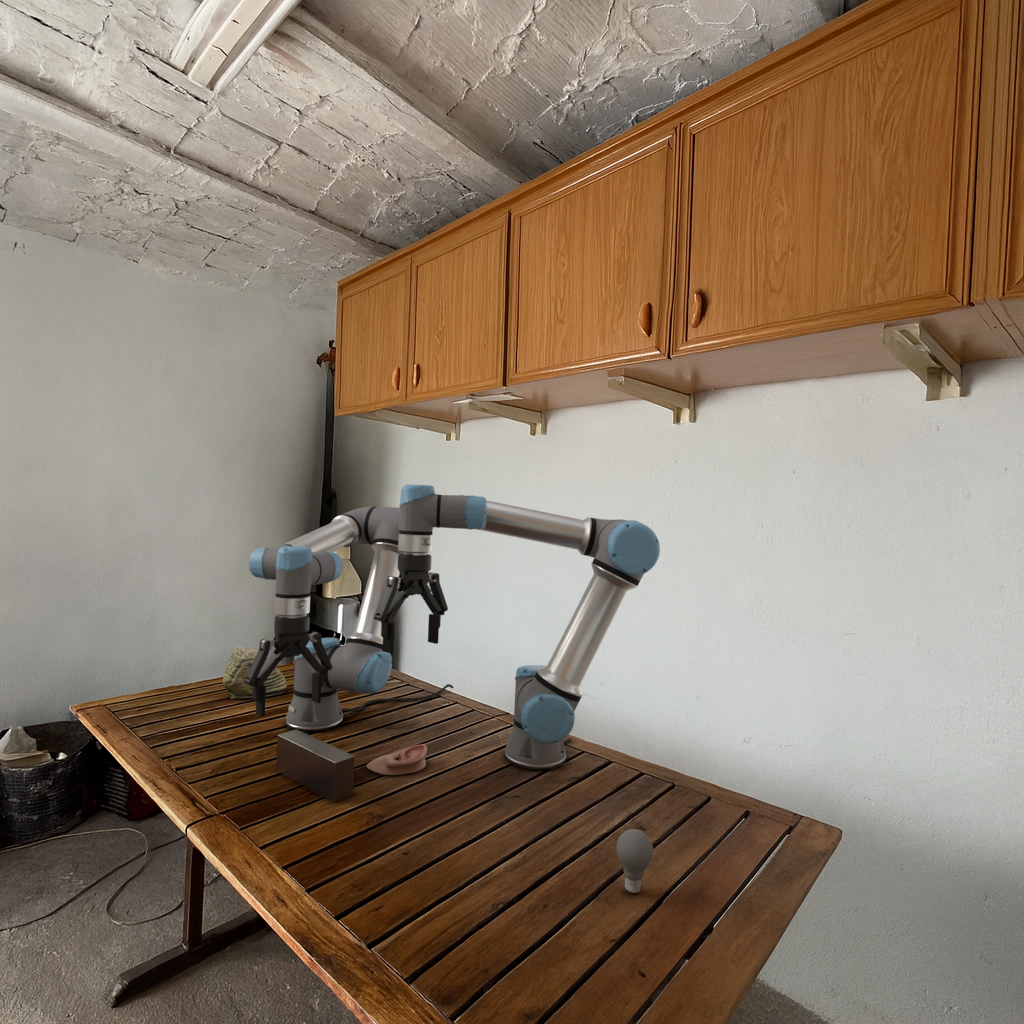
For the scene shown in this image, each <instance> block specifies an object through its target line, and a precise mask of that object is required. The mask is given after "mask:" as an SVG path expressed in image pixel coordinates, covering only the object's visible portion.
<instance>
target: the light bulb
mask: <svg viewBox="0 0 1024 1024" xmlns="http://www.w3.org/2000/svg"><path fill="white" fill-rule="evenodd" d="M615 849H616V854H617V857H618V859H619V861H620V863H621V865H622V867H623V873H624V874H623V875H624V876H625V878H624V888H625V890H627V891H628V892H630V893H634V894H635V893H639V892H640V891H641V889H642V887H641V886H642V879H643V877H644V875H645V871H646V868H647V867H648V866H649V864H650V863H651V861H652V859H653V855H654V847H653V843H652V841H651V838H649V836H648V835H647V834H646V833H645V832H643V831H642V830H641V829H636V828H629V829H627V830H625V831H623V832H622V833H621V834H620V835H619V837H618V839H617V841H616V847H615Z"/></svg>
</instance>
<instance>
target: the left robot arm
mask: <svg viewBox="0 0 1024 1024" xmlns="http://www.w3.org/2000/svg"><path fill="white" fill-rule="evenodd" d="M399 512H400V507H395V506H375V505H374V506H373V505H368V506H363V507H358V508H355V509H353V510H350V511H347V512H344V513H342V514H340V515H337V516H335V517H334V518H333V519H332V520H331V522H330V523H328V524H326V525H323V526H321V527H319V528H317V529H314V530H312V531H309V532H308V533H305V534H303V535H301V536H299V537H296V538H295V539H292V540H290V541H288V542H285V543H283V544H281V545H278V546H276V547H273V548H270V547H258V548H257V549H255V550H253V552H252V553H251V555H250V557H249V560H248V566H249V567H248V568H249V571H250V574H251V575H252V576H253V577H255V578H259V579H264V580H266V581H267V580H273V581H275V596H274V597H275V599H274V614H275V617H274V622H273V623H274V625H273V632H274V637H273V639H265V638H261V639H260V640H259V646H258V648H259V650H258V652H257V655H256V657H255V659H254V661H253V663H252V665H251V667H250V669H249V671H248V673H247V675H246V677H245V679H244V682H245V683H246V684H248V685H250V686H253V697H252V700H253V701H254V702H255V714H256V715H257V716H259V717H263V718H264V717H265V716H266V698H267V696H266V686H264V685H263V684H264V682H265V681H266V679H267V678H268V677H269V675H270V674H271V673H272V671H273V670H274V669H275V667H276V668H277V666H278V664H279V663H280V662H282V661H283V660H284V659H285V658H291V657H293V656H294V658H293V660H294V672H293V673H294V674H293V695H292V696H293V697H292V699H291V702H290V704H289V705H288V708H287V709H288V711H287V713H286V715H285V726H286V728H287V729H289V730H291V731H292V730H296V729H297V730H299V731H301V732H303V733H316V732H325V731H329V730H332V729H335V728H337V727H339V726H340V725H342V723H343V722H344V714H343V712H353V713H354V712H355V713H356V712H360V711H362V710H363V709H364V708H365V707H366V706H367V705H369V704H372V703H381V702H382V703H383V702H406V701H409V702H411V701H421V700H426V699H430V698H432V697H433V698H434V697H436V696H438V695H440V694H442V693H443V692H444V691H445V690H446V689H447V688H450V689H454V686H453V685H452V684H450V683H447V684H446V685H445V686H443V687H442V688H441V689H440V690H438V691H436V692H434V693H431V694H428V695H424V696H418V697H397V698H396V697H395V698H376V699H370V700H367V701H365V702H364V703H363V704H361V706H359V707H357V708H342V706H341V702H340V699H339V695H338V690H339V691H346V692H351V693H357V694H360V695H362V694H368V695H373V694H376V693H378V692H380V691H381V690H382V689H383V688H384V687H385V685H386V684H387V682H388V680H389V678H390V675H391V673H392V669H393V663H392V662H393V656H392V655H391V654H392V653H387V652H384V651H382V649H383V637H381V621H378V620H375V619H374V614H375V612H376V609H377V607H378V605H379V602H380V600H381V597H382V595H383V592H384V590H385V588H386V583H387V577H388V576H393V577H398V576H399V570H398V568H397V567H398V555H399V554H401V552H400V551H398V541H399ZM355 545H371V549H372V550H373V552H374V556H373V559H372V564H371V567H370V570H369V574H368V578H367V582H366V585H365V590H364V593H363V596H362V601H361V604H360V609H359V612H358V616H357V619H356V623H355V627H354V631H353V633H352V634H350V635H349V636H347V637H346V638H345V643H344V645H340V644H341V641H340V639H339V638H337V637H322V634H321V633H320V632H317V631H312V632H311V633H309V631H310V623H311V622H310V621H311V618H310V616H309V613H310V612H311V611H310V610H311V591H312V590H311V587H312V586H316V585H322V584H329V583H331V582H334V581H336V580H338V579H339V578H340V577H341V576H342V574H343V571H344V562H343V560H342V558H341V556H340V555H339V554H338V553H336V552H335V551H337V550H339V549H342V548H349V547H352V546H355ZM273 648H274V650H273V651H272V652H271V653H270V650H272V649H273ZM269 654H270V656H269ZM267 656H269V659H268V661H267V662H266V663H265V665H264V662H265V660H266V658H267ZM263 665H264V666H263Z"/></svg>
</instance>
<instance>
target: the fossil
mask: <svg viewBox="0 0 1024 1024" xmlns="http://www.w3.org/2000/svg"><path fill="white" fill-rule="evenodd" d="M258 650H259V647H258V648H251V647H247V646H246V647H245V646H238V647H237V648H236V649H235V650H233V651H232V653H231V656H230V657H229V659H228V660H227V663H226V666H225V668H224V671H223V675H222V676H223V677H222V685H223V687H224V688H225V690H226V691H228V693H229V698H230V699H250V698H252V699H253V686H250V685H248V684H246V683H245V682H244V679H245V677H246V675H247V673H248V671H249V669H250V667H251V665H252V663H253V661H254V659H255V657H256V655H257V652H258ZM269 658H270V656H269V655H268V656H267V658H266V660H265V662H264V665H265V663H266V662H267V661H268V659H269ZM264 665H263V666H264ZM263 685H264V686H266V697H271V696H275V695H281V694H284V693H285V691H286V689H287V687H288V686H287V680H286V678H285V676H284V674H283V673H282V672H281V669H279V668H278V667H277V666H276V667H275V669H274V670H273V671H272V673H271V674H270V675H269V677H268V678H267V679H266V681H265V682H264V684H263Z"/></svg>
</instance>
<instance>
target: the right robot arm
mask: <svg viewBox="0 0 1024 1024" xmlns="http://www.w3.org/2000/svg"><path fill="white" fill-rule="evenodd" d="M399 508H400V512H399V541H398V551H400V552H401V554H399V555H398V567H397V568H398V570H399V576H398V577H393V576H388V577H387V583H386V588H385V590H384V592H383V595H382V597H381V600H380V602H379V605H378V607H377V609H376V612H375V614H374V619H375V620H378V621H381V637H383V649H382V651H384V652H387V653H390V654H394V646H395V645H394V644H395V622H392V621H393V620H394V619H395V617H396V615H397V613H398V612H399V610H400V608H401V607H402V606H403V604H404V603H405V601H406V599H408V598H409V597H410V596H415V595H420V596H421V598H422V599H423V602H424V603H425V604H426V606H427V607H428V609H429V611H430V612H431V613H429V614H428V625H427V626H428V628H427V643H431V644H434V645H437V644H439V634H440V633H439V632H440V628H441V623H442V621H441V619H442V616H444V615H445V613H446V612H447V611H448V610H449V607H448V604H447V601H446V597H445V594H444V592H443V588H442V586H441V583H440V573H437V572H432V571H431V570H432V560H433V557H432V555H431V554H430V553H431V552H432V551H433V534H434V533H433V529H434V528H436V529H439V528H441V529H442V528H443V529H457V530H458V529H461V530H469V531H471V530H478V531H483V532H488V533H492V534H498V535H502V536H507V537H512V538H518V539H523V540H527V541H531V542H536V543H537V542H538V543H543V544H547V545H552V546H557V547H561V548H566V549H570V550H571V549H572V550H575V551H578V553H579V554H580V555H581V556H587V557H590V558H593V560H592V561H591V564H590V565H591V568H592V571H593V572H592V573H593V574H592V577H591V578H590V580H589V582H588V585H587V587H586V588H585V590H584V592H583V594H582V596H581V598H580V600H579V602H578V604H577V606H576V607H575V610H574V611H573V614H572V616H571V617H570V620H569V621H568V624H567V625H566V627H565V630H564V631H563V634H562V635H561V637H560V640H559V642H558V643H557V645H556V648H555V649H554V651H553V653H552V655H551V657H550V659H549V661H548V663H547V665H541V664H528V665H527V664H526V665H521V666H519V667H518V668H517V669H516V672H515V677H514V680H515V686H514V690H515V691H514V709H513V725H512V730H511V732H510V735H509V737H508V741H507V742H506V745H505V749H504V751H505V752H504V758H505V760H506V761H507V762H508V763H509V764H511V765H512V766H515V767H518V768H520V769H524V770H529V771H549V770H554V769H557V768H560V767H562V766H563V765H564V764H565V763H566V760H567V750H566V746H565V744H568V743H570V742H571V741H572V738H570V737H569V738H567V737H568V736H569V735H570V734H571V732H572V731H573V729H574V725H575V719H576V715H575V711H576V709H577V707H578V706H579V705H578V704H579V703H580V701H581V699H582V697H583V695H584V694H583V689H582V685H581V684H582V683H583V680H584V678H585V676H586V674H587V673H588V670H589V668H590V666H591V664H592V662H593V661H594V658H595V657H596V654H597V652H598V650H599V649H600V646H601V645H602V642H603V641H604V638H605V636H606V635H607V632H608V630H609V629H610V627H611V625H612V623H613V621H614V619H615V617H616V615H617V613H618V611H619V608H621V605H622V603H623V601H624V599H625V597H626V595H627V593H628V592H629V591H630V590H633V589H637V588H638V587H639V584H640V582H641V580H642V579H643V576H644V575H645V574H646V573H648V572H649V571H651V570H652V569H653V568H654V567H655V566H656V564H657V562H658V560H659V557H660V552H661V546H660V545H661V544H660V541H659V538H658V536H657V534H656V533H655V531H653V529H652V528H651V527H650V526H648V525H646V524H645V523H643V522H640V521H637V520H633V519H630V520H629V519H605V518H595V517H591V516H588V517H586V518H585V519H581V518H575V517H571V516H565V515H560V514H555V513H551V512H545V511H540V510H535V509H532V508H527V507H522V506H516V505H511V504H506V503H501V502H496V501H491V500H487V498H485V497H484V496H479V495H472V494H471V495H464V494H459V495H458V494H438V493H436V492H435V487H434V485H428V484H405V485H403V486H402V487H401V489H400V499H399ZM430 571H431V572H430ZM566 738H567V739H566ZM564 739H565V740H564Z"/></svg>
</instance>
